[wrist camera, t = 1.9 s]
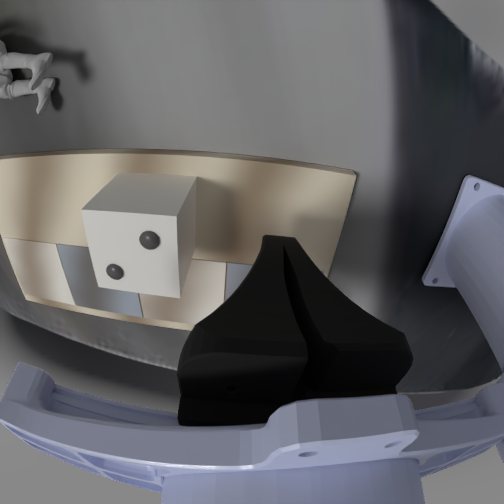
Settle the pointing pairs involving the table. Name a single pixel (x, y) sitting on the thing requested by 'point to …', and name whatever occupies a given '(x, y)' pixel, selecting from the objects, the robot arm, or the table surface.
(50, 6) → the table surface
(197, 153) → the board
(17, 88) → the soldier figure
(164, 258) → the die
